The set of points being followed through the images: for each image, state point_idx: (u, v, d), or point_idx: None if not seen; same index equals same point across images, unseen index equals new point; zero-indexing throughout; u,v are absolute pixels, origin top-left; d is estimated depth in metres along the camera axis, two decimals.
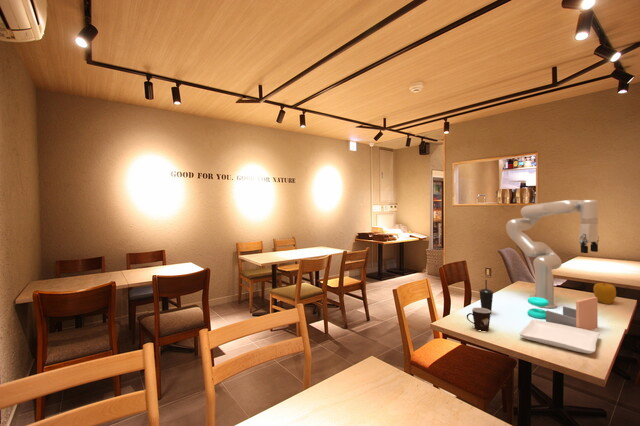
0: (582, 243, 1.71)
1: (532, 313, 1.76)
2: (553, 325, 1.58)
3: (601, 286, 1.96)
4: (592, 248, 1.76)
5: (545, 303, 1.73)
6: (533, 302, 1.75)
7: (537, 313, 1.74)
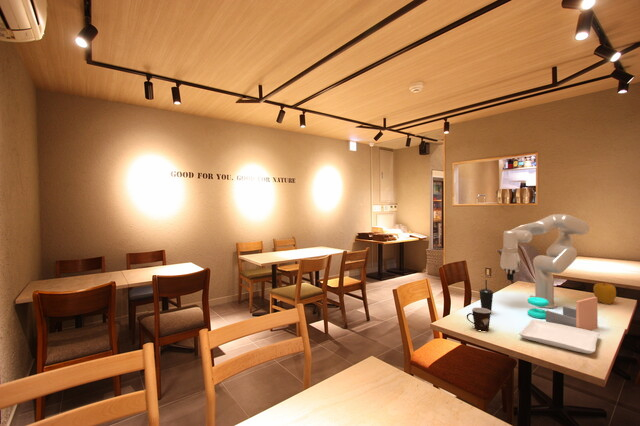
0: None
1: (532, 313, 1.76)
2: (553, 325, 1.58)
3: (601, 286, 1.96)
4: None
5: (545, 303, 1.73)
6: (533, 302, 1.75)
7: (537, 313, 1.74)
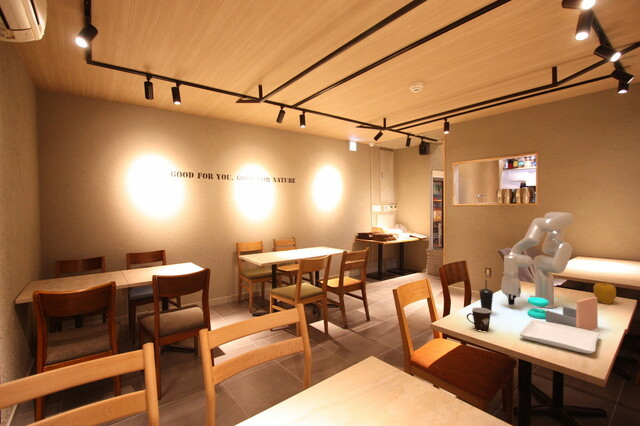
0: None
1: (532, 313, 1.76)
2: (553, 325, 1.58)
3: (601, 286, 1.96)
4: None
5: (545, 303, 1.73)
6: (533, 302, 1.75)
7: (537, 313, 1.74)
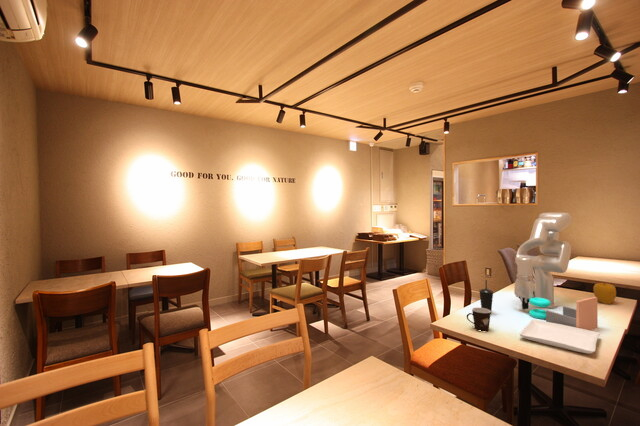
0: (528, 299, 1.82)
1: (534, 313, 1.75)
2: (553, 325, 1.58)
3: (601, 286, 1.96)
4: None
5: (547, 303, 1.72)
6: (535, 302, 1.74)
7: (539, 313, 1.73)
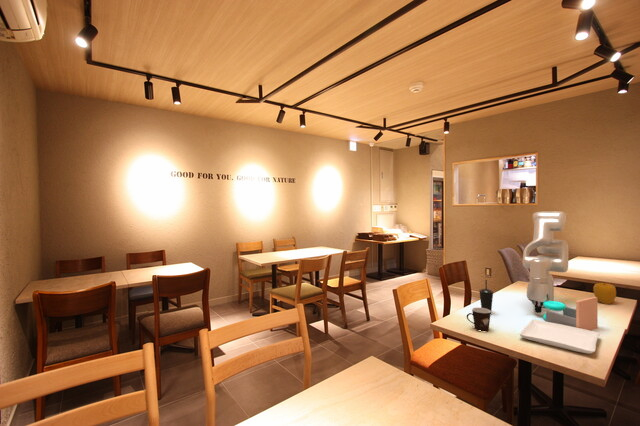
0: None
1: None
2: (553, 325, 1.58)
3: (601, 286, 1.96)
4: None
5: (563, 307, 1.65)
6: (551, 306, 1.67)
7: None
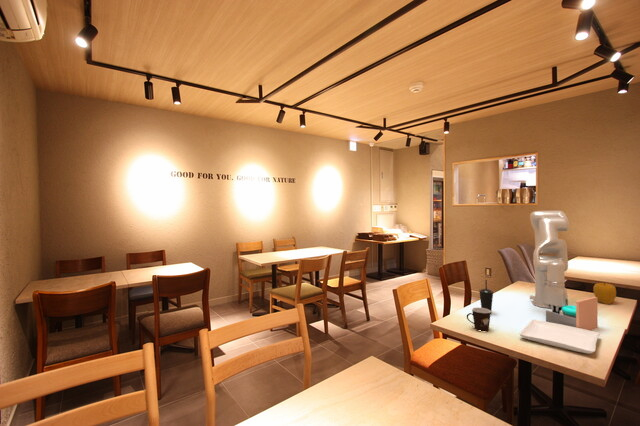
0: None
1: None
2: (553, 325, 1.58)
3: (601, 286, 1.96)
4: None
5: None
6: (571, 312, 1.59)
7: None
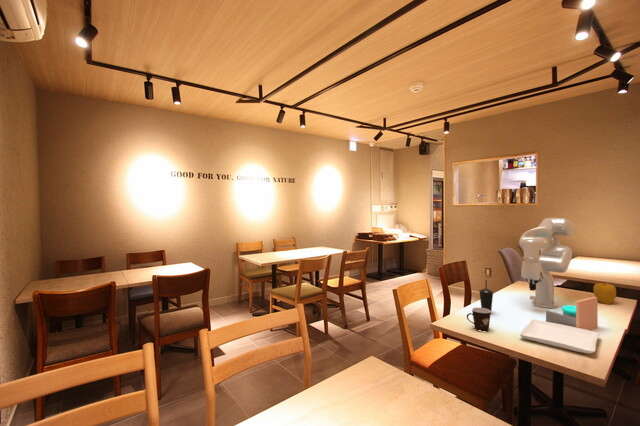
0: None
1: None
2: (553, 325, 1.58)
3: (601, 286, 1.96)
4: None
5: None
6: (571, 312, 1.59)
7: None
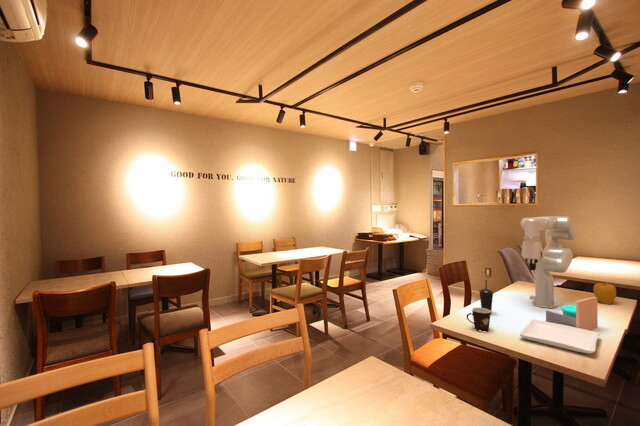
0: None
1: None
2: (553, 325, 1.58)
3: (601, 286, 1.96)
4: None
5: None
6: (571, 312, 1.59)
7: None
